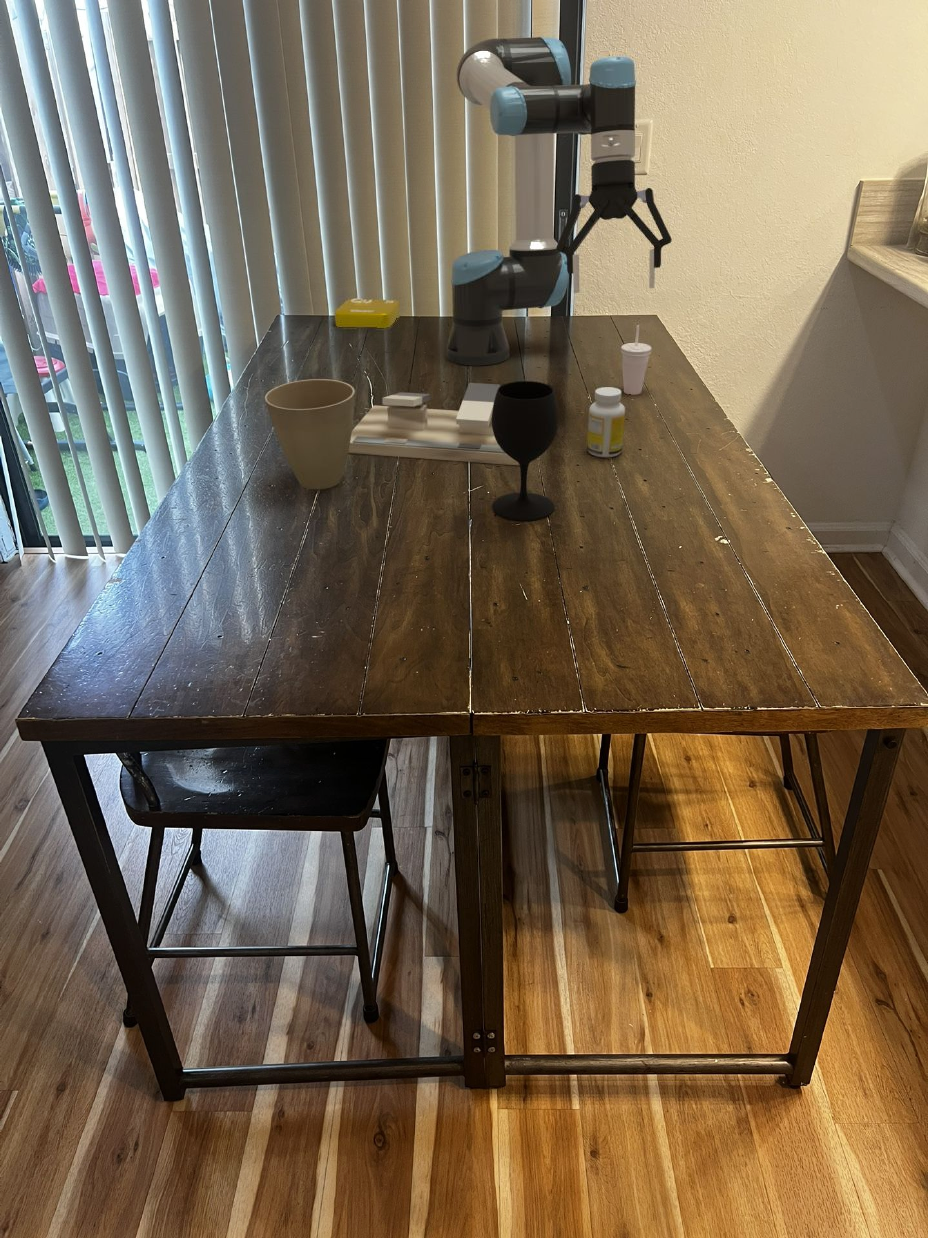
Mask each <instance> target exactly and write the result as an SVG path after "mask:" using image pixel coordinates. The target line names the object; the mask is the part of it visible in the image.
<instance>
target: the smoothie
mask: <svg viewBox="0 0 928 1238" xmlns="http://www.w3.org/2000/svg"><path fill="white" fill-rule="evenodd" d="M635 328H636V329H635V330H636V331H635V340H634V342H631V343H630V342H629V343H625V344H623V345H621V348H620V352H621V354H622V357H621V358H622V376H623V377H622V378H623V379H622V380H623V393H624V394H626V395H629V394H631V395H630V396H636V395H640V394H642V391H643V386H644V381H645V377H646V373H647V367H648V362H649V359H650V354H652V347H651V345H649V344H646V343H642V342H639V335H640V325H639V324H637V325H636V327H635Z"/></svg>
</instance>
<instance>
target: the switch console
mask: <svg viewBox="0 0 928 1238" xmlns="http://www.w3.org/2000/svg"><path fill="white" fill-rule="evenodd" d="M458 412H459V410H454V409H453V410H451V409H450V410H449V409H439V408H438V409H437V408H435V409H433V408H428V405H427V404H423V405H422V406H414V407H412V406H396V405H373V406H372V407H371V408H370V409H369V411H368V412H367V413H366V414H365V415H364V416H363V417H362V419H361V420H360V421H359V422H358V423H357V424H356V425H355V427H354V428H352V434H351V440H350V446H349V451H348V454H359V455H360V454H361V455H373V456H388V457H399V458H400V457H401V458H413V459H425V460H426V459H428V460H439V461H440V460H441V461H455V462H470V463H482V464H483V463H484V464H495V465H497V464H498V465H509V466H513V465H514V466H520V465H519V463H518V462H517V461H515V460H514V459H512V458H511V457H510V456H508V455H507V454H506V453H505V452H504V451H503V450H502V449H501V448H500V446H499V445H498V443H497V441H496V439H495V437H494V433H493V429H492V417H491V420H490V423H489V426H473V425H457V424H456V418H457V415H458Z"/></svg>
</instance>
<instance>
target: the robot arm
mask: <svg viewBox="0 0 928 1238" xmlns="http://www.w3.org/2000/svg"><path fill="white" fill-rule="evenodd" d="M589 71H590V72H589V78H588V82H589V83H588V84H587V83H586V84H572V75H571V74H572V71H571V63H570V58H569V54H568V51H567V49H566V47H565V45H564V44H563V42H562V41H561V40H560V39H558V38H554V37H544V36H537V37H515V38H514V37H513V38H512V37H511V38H497V37H496V38H489V39H485V40H482V41H478V42H477V43H475V44H473V46H471V47H469V48H468V49H467V50H466V51H465V52H464V53H463V55H462V56H461V58H460V60H459V62H458V65H457V67H456V82H457V86H458V89H459V91H460V92H461V94H462V96H463V97H464V98H466V99H467V100H468V101H469V102H471V103H472V104H475V105H479V106H483V107H485V109H486V110H488V111H489V118H490V123H491V126H492V130H493V132H494V133H495V134H496V135H498V136H511V137H514V191H515V197H514V201H515V240H514V241H513V242H512V244H511V245H510V246H509V248H508V249H509V251H508V252H509V253H508V254H509V255H508V256H504V254H503V252H502V251H500V250H498V249H482V250H475V251H471V252H467V253H465V254H463V255H459V256H458V257H456V259H455V260H454V261H453V263H452V267H451V279H450V282H451V292H452V294H451V295H452V301H451V302H452V327H451V329H450V333H449V337H448V340H447V344H446V346H445V347H446V348H445V350H446V352H445V354H446V359H447V360H448V361H450V362H452V363H454V364H459V365H464V366H489V365H495V364H496V365H497V364H499V363H503V362H504V361H506V360H508V359H509V358H510V345H509V342H508V338H507V335H506V332H505V328H504V325H503V311H511V310H512V311H513V310H523V309H524V310H525V309H536V308H538V309H544V308H549V307H555V306H557V305H559V304H560V303H561V301H562V300H563V298H564V296H565V294H566V291H567V287H568V283H569V274H570V275H571V274H572V284H573V294H577V293H580V290H581V289H580V254H575V253H576V251H577V250H578V249H579V247H580V246H581V244H583V242H584V240H585V239H586V237H587V236H588V234H589V233H590V232H591V231H592V229H593V228H594V227H595V225H596V223H598V221H599V220H600V219H602V220H603V221H604V220H605V221H609V220H612V219H618V220H620V219H621V220H622V219H624V218H626V217H628V218H629V219H630V221H632V223H633V224H634V225H635V226H636V228H638V230H639V231H640V233H642V234H643V236H644V237H645V238H646V239H647V241H649V243H650V244H651V245H652V246H653V248H650V249H649V263H648V264H649V270H648V271H649V278H648V279H649V280H648V281H649V284H648V285H649V286H648V288H649V289H654V288H655V274H656V273H655V271H656V269H658V268H661V265H662V248H663V247H664V246H666V245H667V246H668V245H669V244H671V242H672V241H673V239H672V237H671V234H670V232H669V230H668V228H667V227H666V224H665V222H664V220H663V217H662V215H661V214H660V211H659V210H658V207H657V205H656V203H655V197H654V191H653V189H652V188H651V187H647V188H646V189H642V190H636V172H635V171H636V164H635V163H636V162H634V160H632V159H633V158H634V157H635V156H636V130H635V128H636V125H635V124H636V123H635V122H636V120H635V119H636V84H637V80H636V73H635V72H636V70H635V63H634V60H633V59H632V58H630V57H627V56H609V57H603V58H600V59H596V60H594V61H593V62H592V63H591V65H590V68H589ZM572 133H575V134H577V135H580V136H585V135H590V159H591V160H592V162H594V163H592V165H591V168H590V169H591V170H590V171H591V175H590V177H591V190H590V193H589V195H582V194H578V193H576V194H574V195H573V203H572V210H571V212H570V214H569V216H568V219H567V221H566V223H565V226H564V229H563V231H562V232H561V236H560V238H559V240H558V242H557V241H556V239H555V238H554V187H555V186H554V183H555V181H554V177H555V176H554V175H555V174H554V169H555V168H554V167H555V166H554V164H555V163H554V162H555V161H554V160H555V159H554V156H555V155H554V154H555V153H554V152H555V149H554V148H555V147H554V146H555V136H554V135H555V134H572ZM638 199H640V200H641V202H642V203H643V204H646V205H647V208H648V211H649V212H650V214H651V217H652V219H653V220H654V223H655V225H656V227H657V229H658V231H659V233H660V235H661V239H658V237H657V236H656V235H655V234H654V233H653V231H652V230H651V229H650V228H649V227H648V226H647V224H646V223H645V222H644V220H643V219H642V218H641V217H640V216H639V215H638V214H637V212H636V211H635V210H634V209H633V206H634V205H635V204H636V202H637V200H638ZM587 203H589V204H590V205H591V207H592V208H593V212H592V213H591V215H590V216H589V217H588V220H587V221H586V222H585V224H584V225H583V226H582V228H581V229H580V230H579V232H578V233H577V235H576V236H575V237H574V238H573V240H572V242H571V243H570V244H569V246H568V245H567V244H568V242H569V241H570V237H571V235H572V233H573V232H574V231H573V230H574V228H575V225H576V224H577V222H578V218H579V217H580V214H581V210H582V209H584V208H585V207H586V205H587Z"/></svg>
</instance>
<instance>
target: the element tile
mask: <svg viewBox="0 0 928 1238" xmlns="http://www.w3.org/2000/svg"><path fill="white" fill-rule="evenodd" d="M400 311H401V310H400V302H399V300H396V299H367V298H366V299H365V298H364V299H363V298H358V297H357V298H349V299H347V300H346V301H344V303H342V304H341V305H340V306H339V307H338V308H337V309H336V310H334V321H335V322H334V323H335V327H336V326H337V327H336V328H338V327H377V328H386V327H390V326H391V325H392V324H393V323H394V322H395V320H396V318H398V319H400V316H401V313H400ZM396 321H397V320H396ZM395 323H396V322H395ZM395 323H394V324H395ZM394 324H393V325H394ZM393 325H392V326H393ZM392 326H391V327H392ZM391 327H390V328H391Z"/></svg>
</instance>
